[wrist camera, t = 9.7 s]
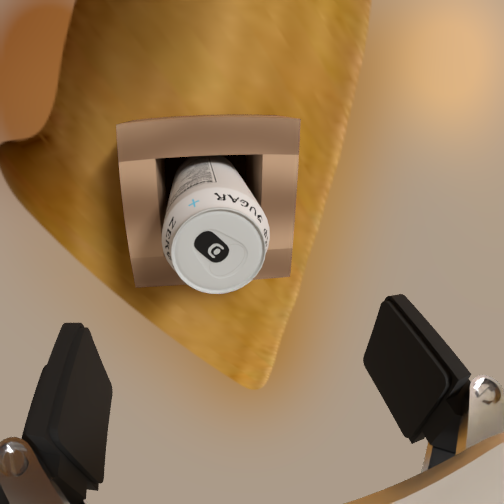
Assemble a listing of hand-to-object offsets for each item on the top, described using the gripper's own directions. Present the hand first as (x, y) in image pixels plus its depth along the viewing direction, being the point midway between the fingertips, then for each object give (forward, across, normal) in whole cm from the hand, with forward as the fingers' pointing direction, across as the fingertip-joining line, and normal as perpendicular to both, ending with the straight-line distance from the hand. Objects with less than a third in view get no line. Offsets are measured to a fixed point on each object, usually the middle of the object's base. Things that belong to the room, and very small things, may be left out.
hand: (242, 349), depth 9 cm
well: (+22, 0, +1) cm, 22 cm away
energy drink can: (+22, 0, +1) cm, 22 cm away
